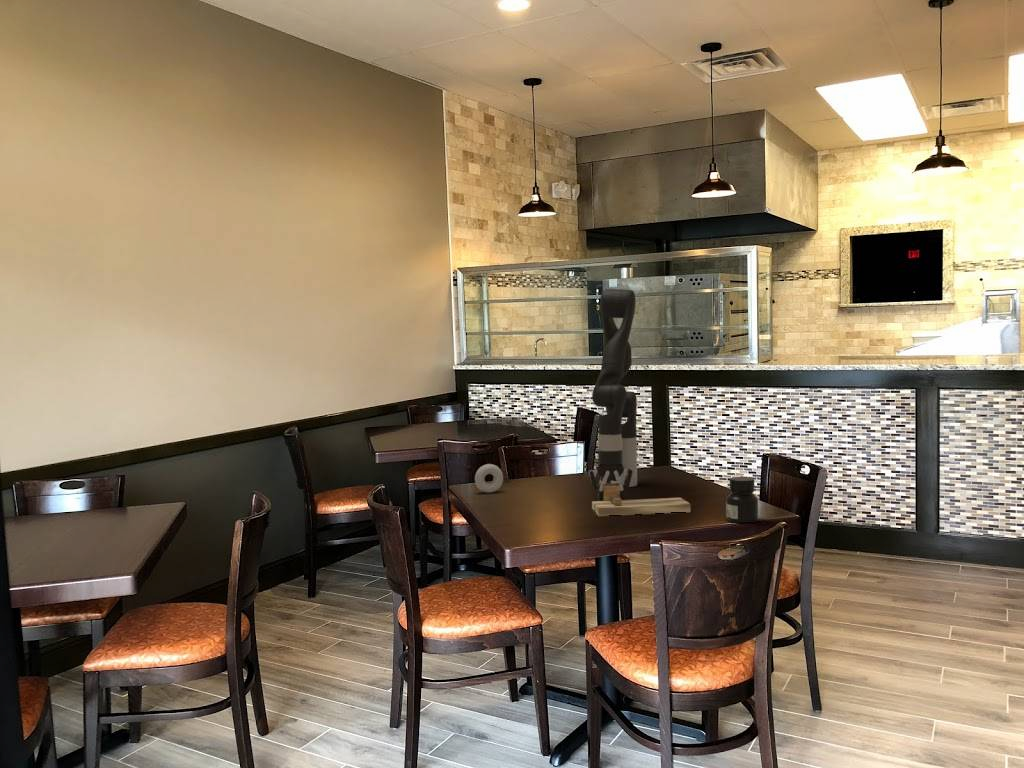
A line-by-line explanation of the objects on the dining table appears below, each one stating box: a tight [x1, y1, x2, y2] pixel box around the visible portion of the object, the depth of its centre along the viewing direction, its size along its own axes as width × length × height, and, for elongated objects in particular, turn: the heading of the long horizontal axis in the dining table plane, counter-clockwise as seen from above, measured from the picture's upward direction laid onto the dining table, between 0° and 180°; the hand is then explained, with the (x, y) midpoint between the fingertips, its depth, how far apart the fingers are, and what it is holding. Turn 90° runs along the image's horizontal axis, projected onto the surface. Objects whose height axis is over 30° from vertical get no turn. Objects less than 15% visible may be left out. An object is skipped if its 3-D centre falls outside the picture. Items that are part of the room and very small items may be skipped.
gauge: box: [603, 482, 622, 505], centre depth 263 cm, size 14×5×7 cm, turn 6°
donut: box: [474, 463, 504, 494], centre depth 294 cm, size 10×4×10 cm, turn 105°
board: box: [591, 497, 692, 517], centre depth 260 cm, size 10×28×2 cm, turn 96°
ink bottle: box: [725, 476, 759, 524], centre depth 245 cm, size 10×9×12 cm
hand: (610, 502), depth 267 cm, fingers closed on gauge, 5 cm apart
